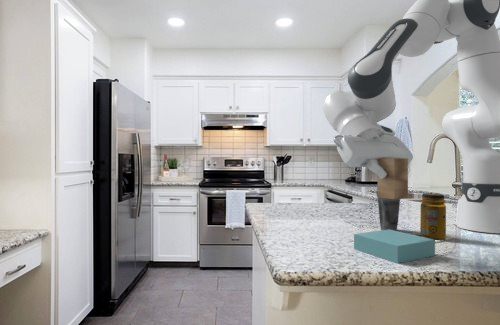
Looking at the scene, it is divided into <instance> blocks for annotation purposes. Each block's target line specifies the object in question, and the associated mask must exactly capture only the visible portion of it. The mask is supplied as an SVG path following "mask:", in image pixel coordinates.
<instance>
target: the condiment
mask: <svg viewBox="0 0 500 325" xmlns="http://www.w3.org/2000/svg"><path fill="white" fill-rule="evenodd" d="M421 196H422V199H421V204H420V220H419V221H420V224H419V226H420V231H419V234H415V235H416V236H420V237H425V238H429V239H434V240H440V241H435V244H436V243H440V242H444V241H448V240H449V241H450V240H452V239H453V238H452V237H449V236H447V234H446V233H447V207H446V204H445V195H444V194H441V193H422V195H421Z"/></svg>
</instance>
